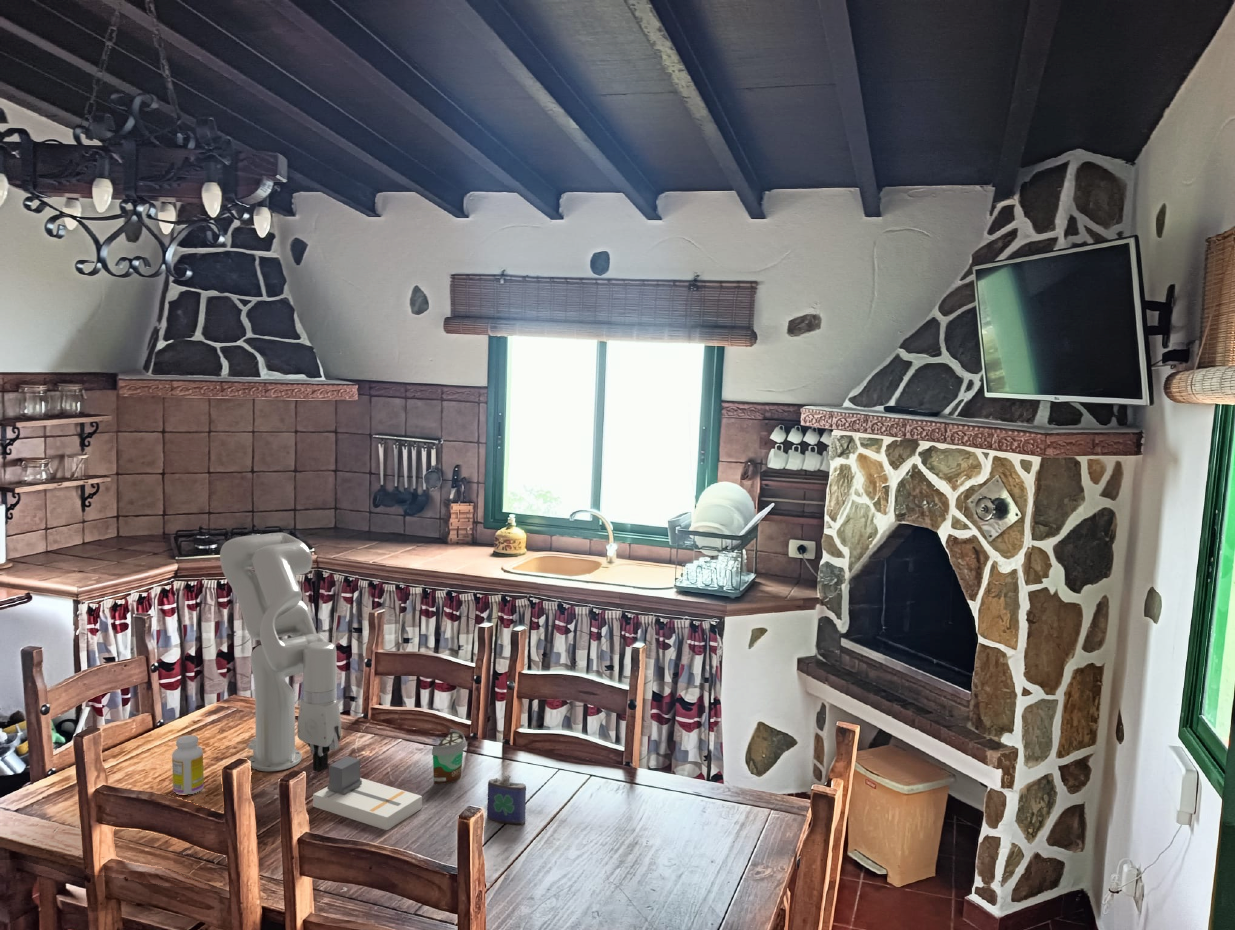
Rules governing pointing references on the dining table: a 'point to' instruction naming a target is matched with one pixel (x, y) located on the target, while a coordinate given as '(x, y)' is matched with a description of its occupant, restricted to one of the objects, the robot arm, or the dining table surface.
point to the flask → (506, 801)
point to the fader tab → (344, 775)
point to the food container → (448, 758)
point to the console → (370, 804)
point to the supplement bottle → (187, 766)
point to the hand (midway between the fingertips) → (320, 769)
